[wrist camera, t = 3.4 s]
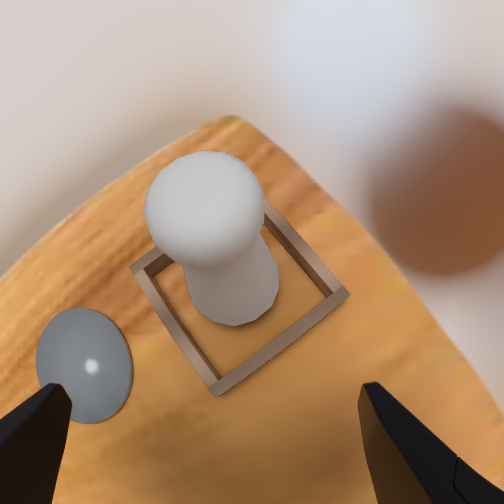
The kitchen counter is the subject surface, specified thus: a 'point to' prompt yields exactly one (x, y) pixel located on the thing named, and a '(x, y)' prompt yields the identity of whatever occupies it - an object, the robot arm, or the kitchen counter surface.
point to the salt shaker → (215, 234)
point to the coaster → (86, 363)
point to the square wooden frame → (218, 386)
